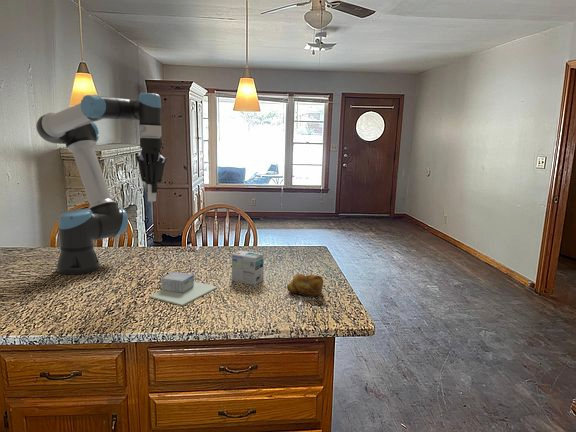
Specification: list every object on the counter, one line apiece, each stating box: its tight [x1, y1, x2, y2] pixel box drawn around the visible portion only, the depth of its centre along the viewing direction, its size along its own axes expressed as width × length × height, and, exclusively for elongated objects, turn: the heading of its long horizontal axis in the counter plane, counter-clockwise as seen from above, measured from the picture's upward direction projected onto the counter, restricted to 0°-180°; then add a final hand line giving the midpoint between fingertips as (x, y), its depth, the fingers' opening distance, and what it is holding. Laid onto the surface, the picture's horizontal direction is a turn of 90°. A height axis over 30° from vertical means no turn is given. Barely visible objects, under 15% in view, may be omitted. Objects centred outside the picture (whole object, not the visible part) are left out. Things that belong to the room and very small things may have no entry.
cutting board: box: [149, 281, 218, 307], centre depth 144 cm, size 14×19×1 cm
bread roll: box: [286, 273, 324, 297], centre depth 148 cm, size 13×10×8 cm
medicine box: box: [160, 271, 195, 293], centre depth 147 cm, size 8×4×9 cm
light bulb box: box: [231, 250, 265, 286], centre depth 158 cm, size 11×7×11 cm, turn 65°
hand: (152, 201), depth 155 cm, fingers closed
